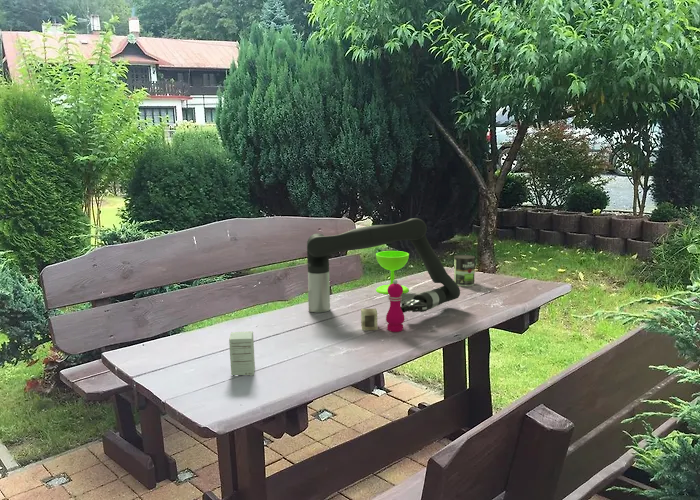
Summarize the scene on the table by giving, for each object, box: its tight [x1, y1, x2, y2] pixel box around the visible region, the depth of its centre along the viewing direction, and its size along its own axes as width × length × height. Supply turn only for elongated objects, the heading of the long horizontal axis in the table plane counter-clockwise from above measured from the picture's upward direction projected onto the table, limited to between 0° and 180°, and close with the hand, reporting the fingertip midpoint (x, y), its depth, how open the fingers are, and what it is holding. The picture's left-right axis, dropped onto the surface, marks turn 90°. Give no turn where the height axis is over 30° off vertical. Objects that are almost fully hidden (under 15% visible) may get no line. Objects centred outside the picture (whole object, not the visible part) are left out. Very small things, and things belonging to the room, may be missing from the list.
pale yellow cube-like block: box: [360, 308, 378, 331], centre depth 243 cm, size 6×6×7 cm
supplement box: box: [228, 330, 256, 376], centre depth 200 cm, size 7×7×13 cm
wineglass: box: [375, 250, 410, 295], centre depth 297 cm, size 16×16×18 cm
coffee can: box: [453, 254, 476, 287], centre depth 308 cm, size 10×10×14 cm
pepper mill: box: [385, 279, 406, 333], centre depth 239 cm, size 7×7×20 cm
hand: (400, 310), depth 242 cm, fingers closed
